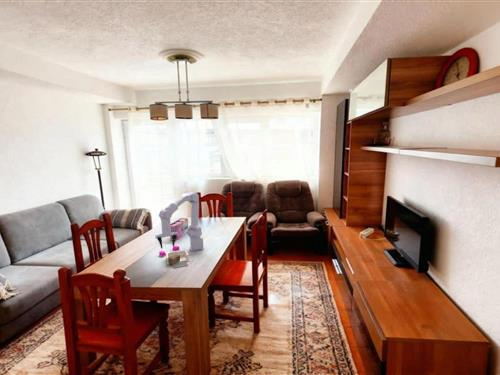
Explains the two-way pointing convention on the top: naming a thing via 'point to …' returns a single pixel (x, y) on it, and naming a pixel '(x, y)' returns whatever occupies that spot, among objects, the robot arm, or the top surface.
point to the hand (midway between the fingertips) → (167, 246)
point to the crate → (182, 254)
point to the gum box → (180, 227)
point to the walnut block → (174, 259)
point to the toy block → (173, 250)
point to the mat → (180, 264)
